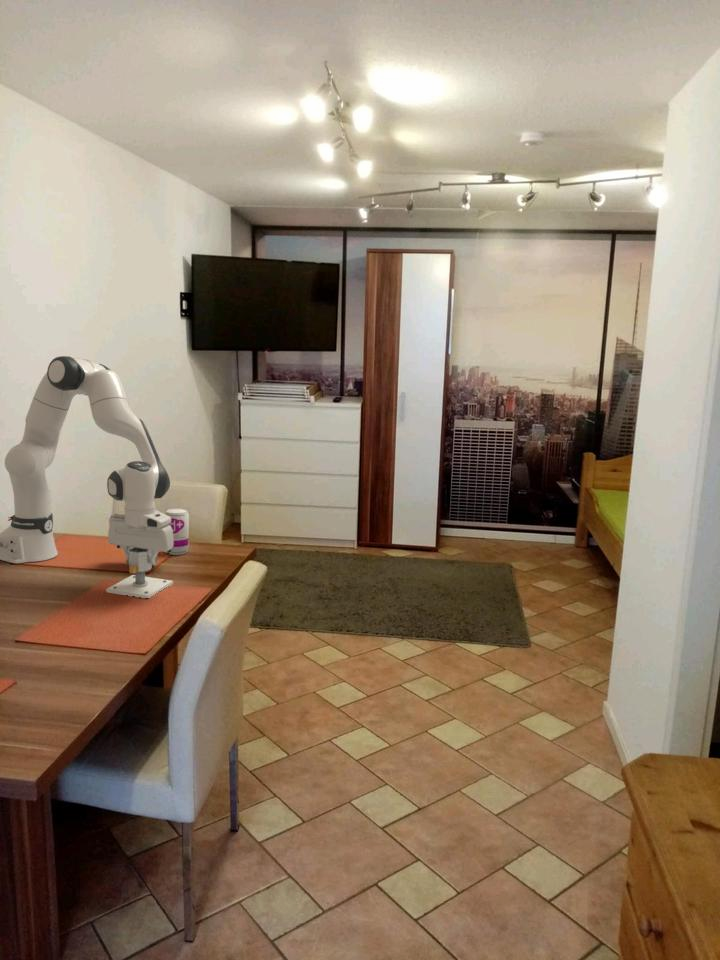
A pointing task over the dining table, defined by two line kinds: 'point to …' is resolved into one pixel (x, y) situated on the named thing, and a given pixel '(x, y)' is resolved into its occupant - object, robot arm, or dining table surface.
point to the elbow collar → (139, 560)
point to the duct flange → (139, 586)
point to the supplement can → (179, 531)
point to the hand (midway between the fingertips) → (140, 561)
